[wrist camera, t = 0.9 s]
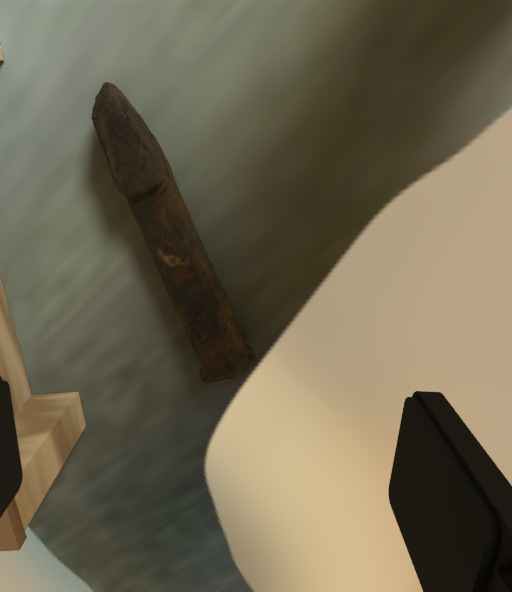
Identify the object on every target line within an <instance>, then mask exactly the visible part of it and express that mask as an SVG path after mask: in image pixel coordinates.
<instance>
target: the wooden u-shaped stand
mask: <svg viewBox="0 0 512 592" xmlns="http://www.w3.org/2000/svg"><path fill="white" fill-rule="evenodd" d="M0 61H4V58H3V54H2V50H1V45H0ZM0 376H1V377H2V379H3V380H5V381H7V382H8V383H9V386H10V392H11V399H12V405H13V412H14V419H15V426H16V432H17V439H18V446H19V452H20V459H21V466H22V473H23V478H22V484H21V487H20V489H19V491H18V493H17V494H16V496H15V497H14V499H13V500H12V502H11V503H10V505H9V506H8V508H7V509H6V510H5V512H4V513H3V515H2V516H1V518H0V551H10V550H20V548H21V546H22V545H23V543H24V541H25V539H26V538H27V537H26V534H25V529H26V527H27V526H28V524H29V522H30V521H31V519H32V517H33V516H34V514H35V512H36V511H37V509H38V507H39V505H40V504H41V502H42V500H43V499H44V497H45V495H46V494H47V492H48V490H49V488H50V487H51V485H52V483H53V482H54V480H55V478H56V477H57V475H58V473H59V471H60V470H61V468H62V466H63V465H64V463H65V461H66V460H67V458H68V456H69V454H70V453H71V451H72V449H73V448H74V446H75V444H76V443H77V441H78V439H79V437H80V436H81V434H82V432H83V431H84V429H85V427H86V423H85V418H84V414H83V409H82V405H81V400H80V396H79V392H64V393H49V394H34V395H32V394H31V390H30V386H29V383H28V379H27V375H26V371H25V367H24V364H23V360H22V356H21V352H20V349H19V345H18V341H17V337H16V333H15V330H14V326H13V322H12V318H11V314H10V311H9V307H8V303H7V299H6V296H5V292H4V288H3V284H2V280H1V277H0Z"/></svg>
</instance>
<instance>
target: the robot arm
mask: <svg viewBox="0 0 512 592" xmlns="http://www.w3.org/2000/svg"><path fill="white" fill-rule="evenodd" d="M22 478H23V473H22V466H21V459H20V452H19V446H18V439H17V432H16V426H15V419H14V412H13V405H12V399H11V392H10V386H9V383H8V382H7V381H5V380H3V379H2V377H1V376H0V518H1V516H2V515H3V513H4V512H5V510H6V509H7V508H8V506H9V505H10V503H11V502H12V500H13V499H14V497H15V496H16V494H17V493H18V491H19V489H20V487H21V484H22ZM389 500H390V504H391V507H392V510H393V513H394V515H395V518H396V520H397V523H398V526H399V528H400V531H401V533H402V536H403V539H404V541H405V544H406V547H407V550H408V552H409V555H410V557H411V560H412V563H413V565H414V568H415V571H416V573H417V576H418V578H419V581H420V584H421V586H422V589H423V592H512V486H511V484H510V483H509V482H508V480H507V479H506V478H505V476H504V475H503V474H502V472H501V471H500V470H499V469H498V467H497V466H496V465H495V463H494V462H493V461H492V459H491V458H490V457H489V455H488V454H487V453H486V451H485V450H484V449H483V447H482V446H481V445H480V443H479V442H478V441H477V440H476V438H475V437H474V435H473V434H472V433H471V431H470V430H469V429H468V428H467V426H466V425H465V423H464V422H463V421H462V419H461V418H460V417H459V415H458V414H457V413H456V412H455V410H454V409H453V407H452V406H451V405H450V403H449V402H448V401H447V400H446V398H445V397H444V395H443V394H442V393H440V392H421V391H416V392H414V394H413V396H412V397H407V398H406V400H405V403H404V408H403V414H402V419H401V424H400V430H399V435H398V441H397V447H396V451H395V457H394V463H393V468H392V474H391V479H390V484H389Z"/></svg>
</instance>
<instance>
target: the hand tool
mask: <svg viewBox="0 0 512 592" xmlns="http://www.w3.org/2000/svg"><path fill="white" fill-rule="evenodd" d="M91 118H92V120H93V123H94V126H95V128H96V131H97V134H98V137H99V140H100V143H101V146H102V148H103V150H104V152H105V155H106V158H107V161H108V164H109V168H110V171H111V174H112V177H113V180H114V182H115V184H116V186H117V187H118V189H119V191H120V192H121V193H122V194H124V195H126V197H127V200H128V203H129V205H130V207H131V209H132V211H133V213H134V215H135V217H136V219H137V222H138V224H139V226H140V228H141V229H142V232H143V234H144V237H145V240H146V243H147V245H148V247H149V249H150V251H151V253H152V256H153V258H154V261H155V264H156V266H157V269H158V271H159V273H160V275H161V277H162V280H163V282H164V284H165V286H166V289H167V291H168V293H169V296H170V298H171V300H172V302H173V304H174V306H175V309H176V311H177V313H178V315H179V318H180V320H181V322H182V325H183V327H184V329H185V331H186V333H187V335H188V337H189V339H190V341H191V343H192V345H193V347H194V350H195V352H196V354H197V356H198V359H199V361H200V364H201V369H200V377H201V379H202V381H203V382H207V383H209V382H215V381H220V380H224V379H228V378H229V379H232V378H234V377H236V376H238V375H239V374H240V373H241V372H242V371H244V370H245V369H247V368H248V367H249V366H251V365H252V364H254V363H255V358H256V356H255V353H254V352H253V351H252V348H251V347H250V346H249V345H248V344H246V343H244V334H243V330H242V328H240V327H238V326H237V324H236V321H235V318H234V315H233V313H232V311H231V306H230V303H229V301H228V300H227V298H226V294H225V291H224V289H222V288H221V283H220V282H219V281H218V279H217V278H216V275H215V272H214V269H213V266H212V264H211V262H210V260H209V258H208V256H207V254H206V252H205V249H204V247H203V245H202V242H201V240H200V238H199V236H198V233H197V231H196V229H195V227H194V224H193V222H192V219H191V217H190V214H189V212H188V210H187V208H186V206H185V203H184V201H183V199H182V196H181V194H180V192H179V189H178V187H177V185H176V183H175V180H174V177H173V174H172V170H171V167H170V165H169V163H168V161H167V159H166V157H165V155H164V153H163V151H162V149H161V147H160V145H159V144H158V142H157V140H156V138H155V136H154V135H153V134H152V133H151V132H150V130H149V129H148V127H147V125H146V123H145V122H144V121H143V119H142V117H141V116H140V115H139V114H138V113H137V111H136V110H135V108H134V107H133V106H132V105H131V103H130V102H129V101H128V100H127V98H126V97H125V96H124V94H123V93H122V92H121V91H120V90H119V89H118V88H117V87H116V86H115V85H113V84H111V83H108V82H106V83H104V84H103V86H102V88H101V90H100V92H99V93H98V95H97V96H96V100H95V104H94V107H93V113H92V117H91Z"/></svg>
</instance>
